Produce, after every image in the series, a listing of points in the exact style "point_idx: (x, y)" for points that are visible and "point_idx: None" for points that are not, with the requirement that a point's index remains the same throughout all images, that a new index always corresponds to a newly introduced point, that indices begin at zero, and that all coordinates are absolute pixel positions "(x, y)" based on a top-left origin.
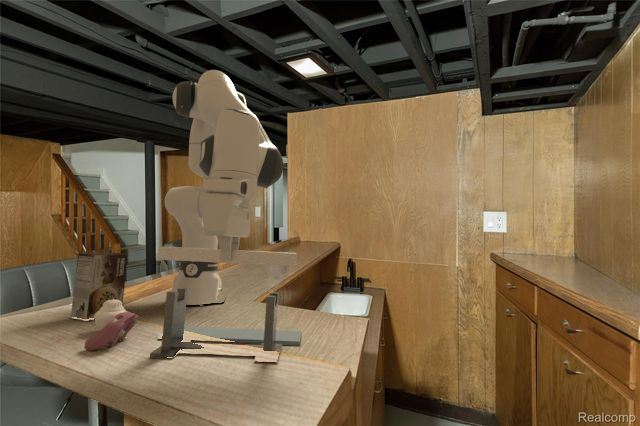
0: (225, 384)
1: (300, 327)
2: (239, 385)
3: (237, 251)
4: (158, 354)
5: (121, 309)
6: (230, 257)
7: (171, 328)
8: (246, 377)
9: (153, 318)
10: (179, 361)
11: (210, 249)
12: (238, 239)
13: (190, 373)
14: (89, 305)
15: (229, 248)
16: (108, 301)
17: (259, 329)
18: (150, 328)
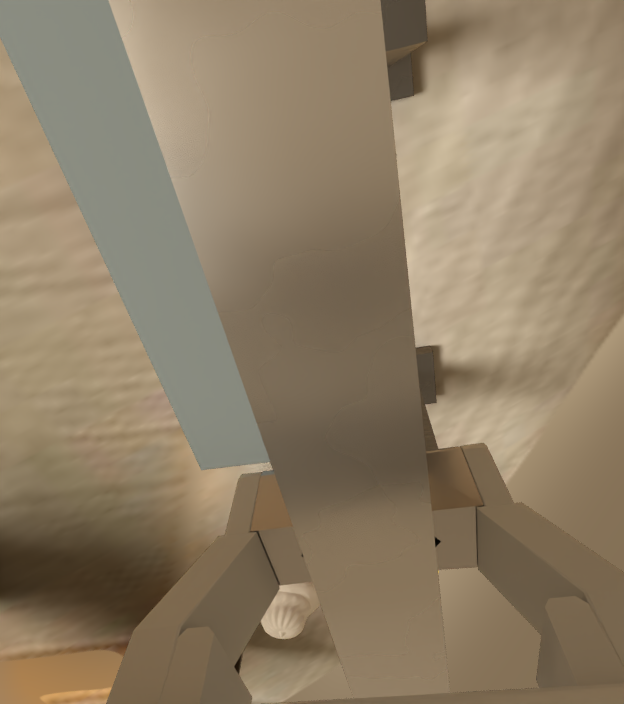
0: (600, 112)
1: None
2: (609, 60)
3: (426, 477)
4: (433, 384)
5: (280, 593)
6: (463, 464)
7: (426, 410)
8: (546, 64)
9: (147, 547)
10: (443, 322)
11: (444, 644)
12: (199, 675)
13: (523, 252)
14: (239, 657)
15: (562, 535)
16: (295, 633)
17: (90, 218)
18: (228, 509)
